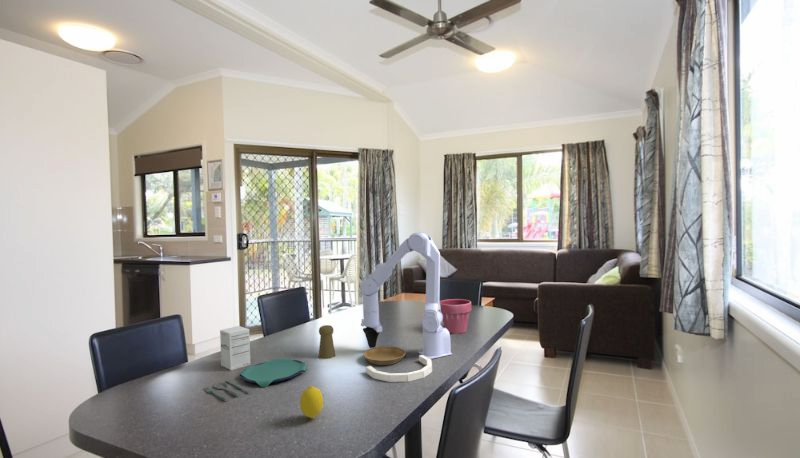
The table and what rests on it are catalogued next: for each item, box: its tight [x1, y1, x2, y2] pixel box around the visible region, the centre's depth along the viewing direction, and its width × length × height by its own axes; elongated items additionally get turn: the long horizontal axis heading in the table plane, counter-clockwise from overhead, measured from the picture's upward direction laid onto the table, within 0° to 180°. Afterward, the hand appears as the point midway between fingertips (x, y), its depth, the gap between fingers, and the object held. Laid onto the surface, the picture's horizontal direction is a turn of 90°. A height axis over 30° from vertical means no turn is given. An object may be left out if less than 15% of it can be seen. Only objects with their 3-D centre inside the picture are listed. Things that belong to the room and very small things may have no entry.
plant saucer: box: [362, 346, 406, 366], centre depth 142 cm, size 15×15×3 cm
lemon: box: [299, 385, 324, 419], centre depth 100 cm, size 6×6×8 cm
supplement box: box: [219, 325, 251, 371], centre depth 140 cm, size 7×7×13 cm
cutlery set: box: [202, 357, 308, 402], centre depth 127 cm, size 20×30×2 cm, turn 137°
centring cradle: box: [365, 354, 433, 383], centre depth 128 cm, size 21×13×2 cm, turn 118°
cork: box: [318, 325, 336, 360], centre depth 147 cm, size 6×6×11 cm
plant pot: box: [439, 298, 472, 335], centre depth 175 cm, size 14×14×13 cm
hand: (372, 347), depth 151 cm, fingers closed
